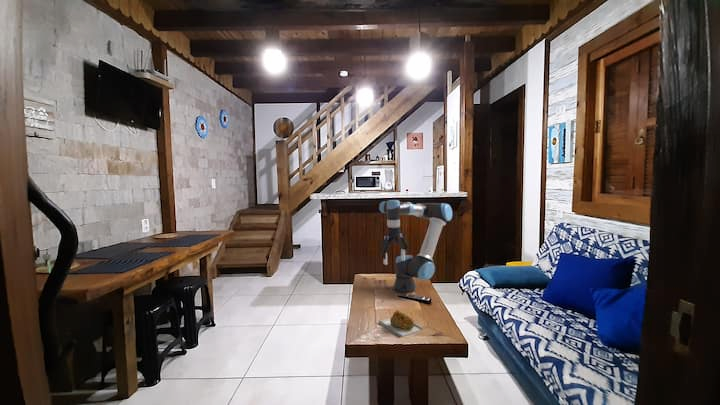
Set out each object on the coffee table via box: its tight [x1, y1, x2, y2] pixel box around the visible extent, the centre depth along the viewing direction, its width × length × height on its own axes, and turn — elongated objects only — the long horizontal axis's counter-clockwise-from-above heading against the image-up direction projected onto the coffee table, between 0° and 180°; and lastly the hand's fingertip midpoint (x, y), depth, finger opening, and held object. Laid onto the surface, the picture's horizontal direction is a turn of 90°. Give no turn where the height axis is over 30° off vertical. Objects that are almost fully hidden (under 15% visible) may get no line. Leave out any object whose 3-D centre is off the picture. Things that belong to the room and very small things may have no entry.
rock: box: [389, 310, 415, 329], centre depth 153 cm, size 11×8×10 cm
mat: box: [378, 317, 423, 338], centre depth 155 cm, size 14×18×1 cm
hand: (394, 262), depth 181 cm, fingers open, 13 cm apart
